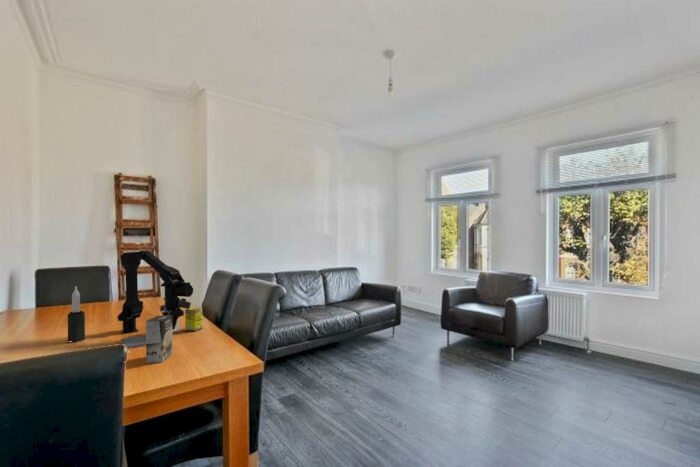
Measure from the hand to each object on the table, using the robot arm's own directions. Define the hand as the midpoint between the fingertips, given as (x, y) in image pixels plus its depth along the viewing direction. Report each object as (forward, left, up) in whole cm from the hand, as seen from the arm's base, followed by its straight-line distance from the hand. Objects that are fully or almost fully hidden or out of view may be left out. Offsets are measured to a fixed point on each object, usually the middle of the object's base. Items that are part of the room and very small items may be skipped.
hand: (171, 328), depth 169 cm
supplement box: (-2, +11, -4) cm, 12 cm away
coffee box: (+30, -12, -4) cm, 33 cm away
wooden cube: (0, 0, -1) cm, 1 cm away
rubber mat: (+2, -13, -3) cm, 14 cm away
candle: (-20, -35, -4) cm, 40 cm away
